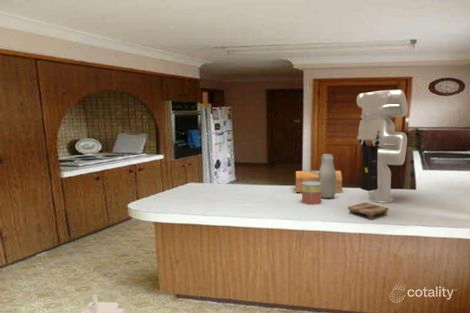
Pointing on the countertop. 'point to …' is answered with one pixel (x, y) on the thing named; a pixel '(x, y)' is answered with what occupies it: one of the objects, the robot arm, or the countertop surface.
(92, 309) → the bracket
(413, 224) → the countertop surface
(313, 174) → the wooden box
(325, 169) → the grey bottle
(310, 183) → the canned food
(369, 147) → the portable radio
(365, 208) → the stand
